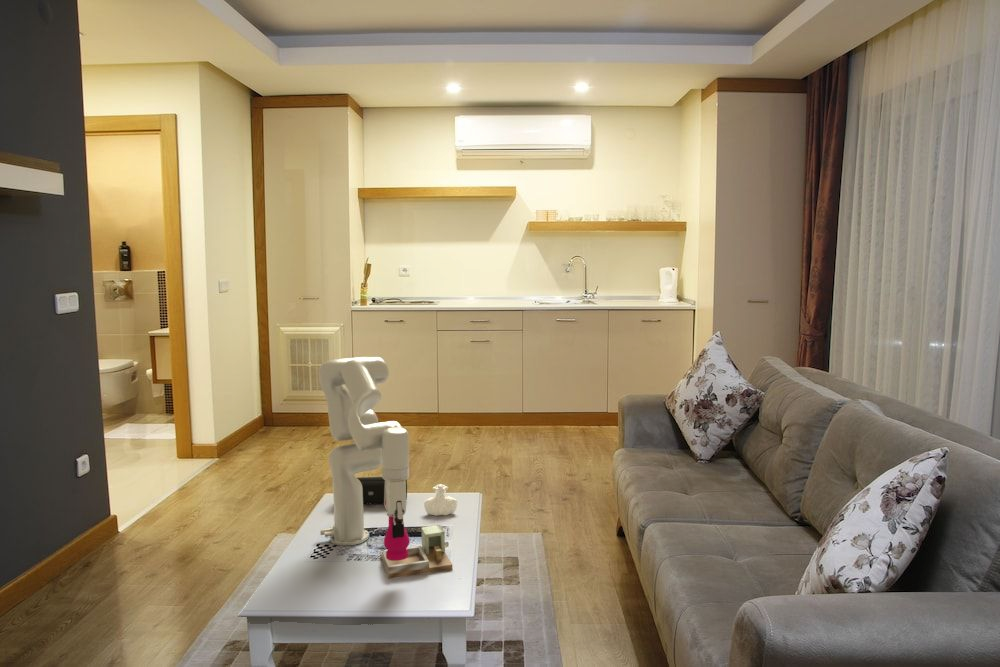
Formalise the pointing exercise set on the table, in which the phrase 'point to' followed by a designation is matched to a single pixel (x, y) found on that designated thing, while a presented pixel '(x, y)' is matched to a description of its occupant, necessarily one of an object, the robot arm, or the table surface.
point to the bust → (440, 502)
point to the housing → (433, 538)
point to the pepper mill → (395, 543)
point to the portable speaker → (374, 489)
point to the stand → (417, 562)
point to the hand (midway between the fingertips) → (396, 532)
